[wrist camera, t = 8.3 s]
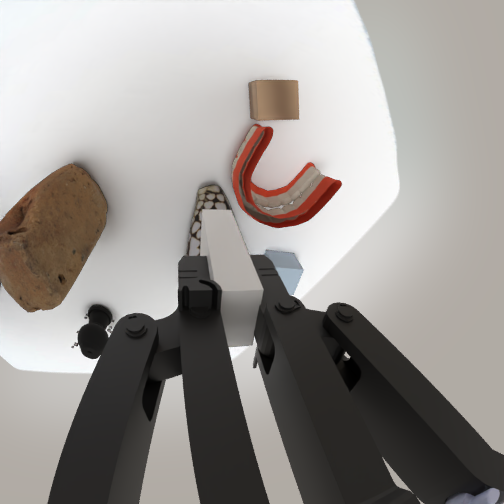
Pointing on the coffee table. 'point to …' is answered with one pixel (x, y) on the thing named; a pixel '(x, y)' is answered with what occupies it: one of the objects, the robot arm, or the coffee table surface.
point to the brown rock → (50, 237)
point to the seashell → (205, 200)
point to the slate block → (286, 268)
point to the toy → (291, 213)
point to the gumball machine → (94, 332)
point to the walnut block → (274, 99)
